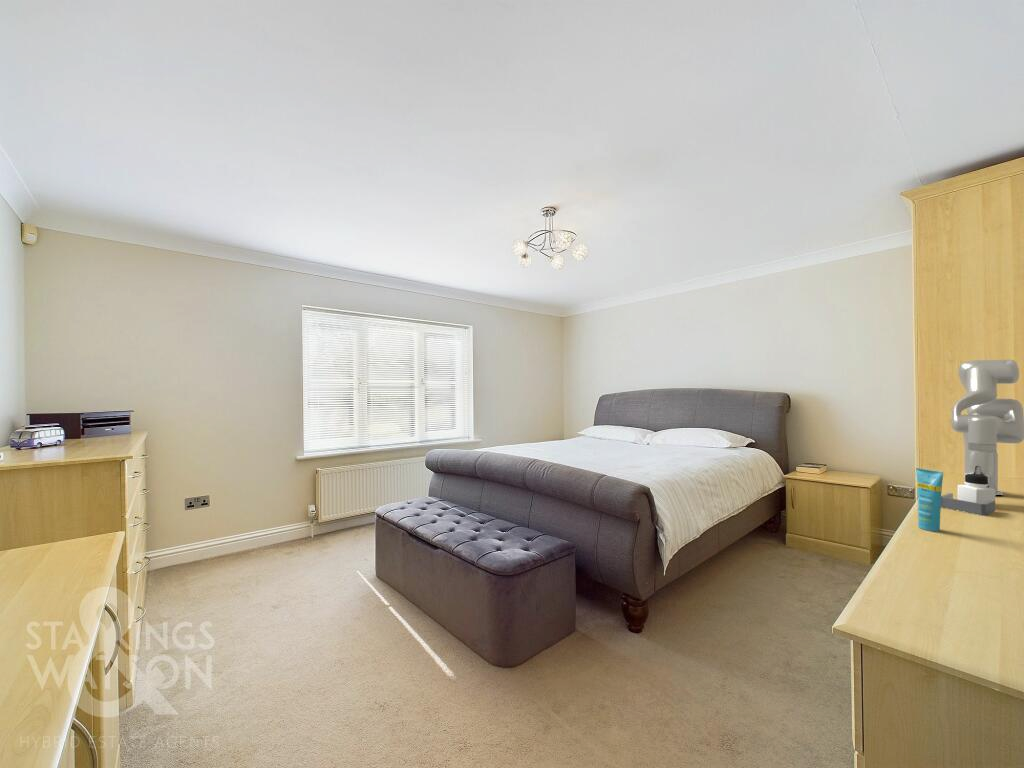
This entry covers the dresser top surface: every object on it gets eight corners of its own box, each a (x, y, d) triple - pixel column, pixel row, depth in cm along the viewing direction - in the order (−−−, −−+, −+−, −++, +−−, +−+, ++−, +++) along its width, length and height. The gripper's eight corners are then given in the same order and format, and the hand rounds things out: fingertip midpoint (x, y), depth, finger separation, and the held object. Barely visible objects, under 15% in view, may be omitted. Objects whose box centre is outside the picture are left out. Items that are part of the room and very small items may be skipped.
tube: (910, 526, 139) (910, 467, 139) (920, 524, 140) (920, 467, 140) (938, 533, 131) (939, 472, 131) (948, 532, 133) (949, 471, 133)
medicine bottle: (995, 508, 159) (995, 476, 159) (976, 508, 159) (976, 476, 159) (975, 502, 166) (975, 472, 166) (956, 502, 166) (957, 472, 166)
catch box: (949, 503, 165) (949, 493, 165) (995, 511, 155) (995, 500, 155) (939, 507, 160) (939, 496, 160) (985, 516, 149) (985, 504, 149)
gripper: (974, 445, 173) (974, 490, 173) (962, 448, 165) (962, 494, 165) (1002, 448, 166) (1001, 494, 166) (990, 450, 159) (990, 499, 159)
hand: (982, 494), depth 166 cm, fingers closed
